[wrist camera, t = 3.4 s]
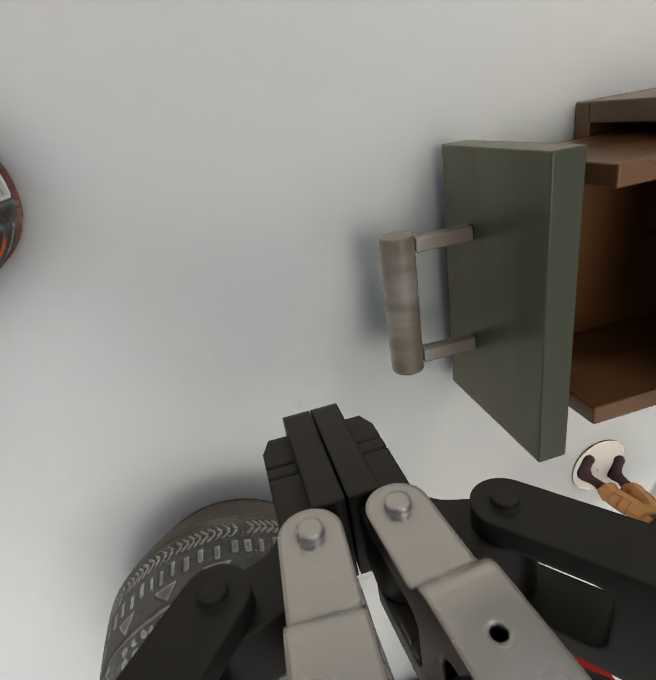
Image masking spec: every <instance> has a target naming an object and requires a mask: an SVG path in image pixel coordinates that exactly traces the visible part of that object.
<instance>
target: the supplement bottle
mask: <svg viewBox="0 0 656 680" xmlns="http://www.w3.org/2000/svg"><path fill="white" fill-rule="evenodd" d="M22 217H23V213H22V208H21V203H20V199H19V196H18V193H17V191H16V189H15V186H14V184H13V182H12V180H11V178H10V176H9V175H8V173H7V172H6V170H5V169H4V167H3V166H2V164H1V163H0V268H1V267H2V266H3V264H4V263H5V262H6V261H7V260H8V258H9V257H10V256H11V254H12V253H13V251H14V249H15V247H16V245H17V243H18V240H19V237H20V233H21V228H22Z"/></svg>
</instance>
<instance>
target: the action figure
mask: <svg viewBox="0 0 656 680" xmlns="http://www.w3.org/2000/svg"><path fill="white" fill-rule="evenodd" d="M624 463H625V450H624V448H623V446H622V445H621V444H620V443H618V442H616V441H604V442H601V443H598V444H596V445H594V446H593V447H591V448H590V449H588V450H587V451H586V452H585V453H584V454H583V455H582V456H581V457H580V459H579V460H578V462H577V464H576V466H575V468H574V472H573V480H574V483H575V484H576V486H577V487H579V488H580V489H583V490H593V489H597V491H598V493H599V495H600V497H601V498H602V500H604V501H606V502H607V503H608V504H609V505H611V506H612V507H614V508H615V509H616V510H618V511H619V512H621V513H623V514H624V515H626V516H628V517H631V518H634V519H637V520H640V521H643V522H647V523H650V524H653V525H656V500H655V498H654V497H652V496H651V495H650V494H649V493H648V492H647V491H645V490H644V488H643V487H642V486H640V485H639V484H637V483H633V482H632V483H631V482H630V481H628V480H627V479H626V478H625V477H624V476H623V474H622V467H623V464H624ZM611 480H613V481H615V482H617V483H618V484H619V485H620V486H621V488H620V490H619V489H618V487H617V485H616V484H613V483H611V482H610V483H608V482H609V481H611Z"/></svg>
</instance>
